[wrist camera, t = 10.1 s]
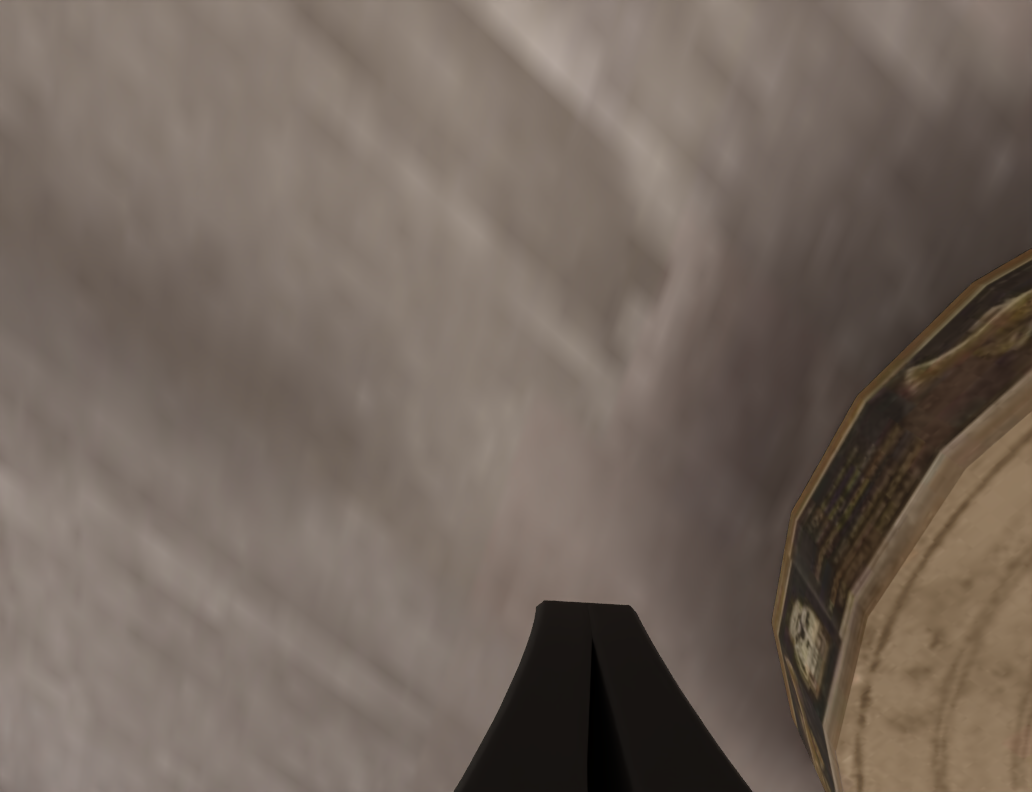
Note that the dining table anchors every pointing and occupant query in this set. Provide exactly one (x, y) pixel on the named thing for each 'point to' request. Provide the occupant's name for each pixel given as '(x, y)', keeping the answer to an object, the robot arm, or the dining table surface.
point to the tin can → (922, 564)
